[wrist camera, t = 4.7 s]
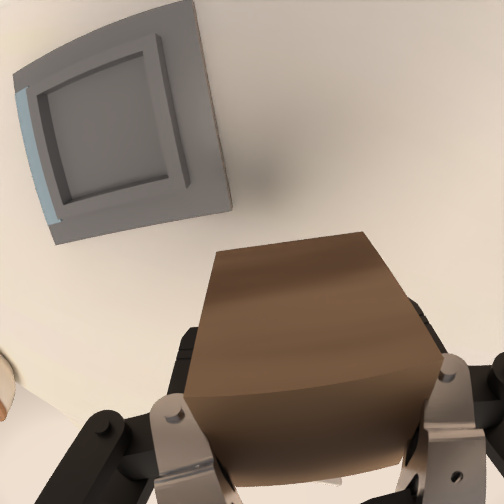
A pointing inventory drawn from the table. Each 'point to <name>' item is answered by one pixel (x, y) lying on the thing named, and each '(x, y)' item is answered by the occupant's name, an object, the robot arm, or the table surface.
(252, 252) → the block
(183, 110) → the holder
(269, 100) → the table surface
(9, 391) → the lidded jar
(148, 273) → the table surface
